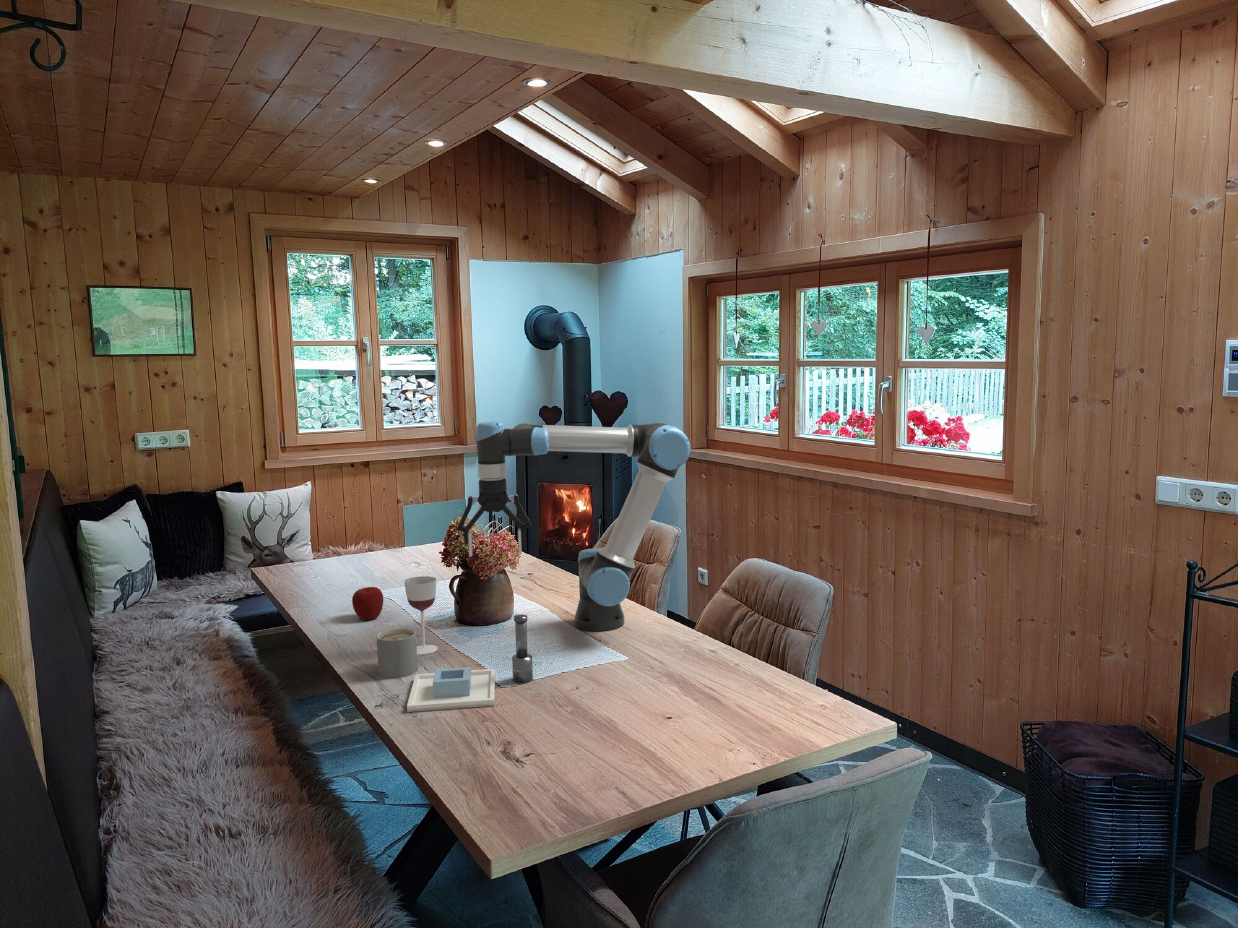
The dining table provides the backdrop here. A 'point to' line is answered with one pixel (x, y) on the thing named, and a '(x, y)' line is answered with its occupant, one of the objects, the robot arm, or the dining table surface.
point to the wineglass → (421, 602)
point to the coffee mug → (397, 653)
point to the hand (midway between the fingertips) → (495, 554)
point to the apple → (368, 602)
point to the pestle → (521, 652)
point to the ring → (452, 682)
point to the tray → (479, 697)
